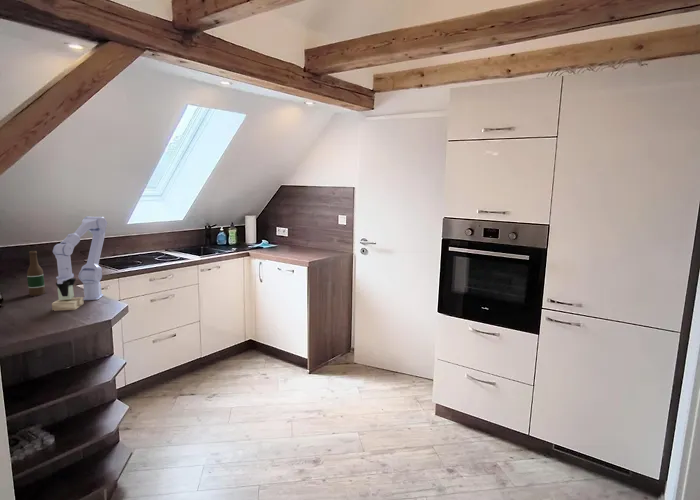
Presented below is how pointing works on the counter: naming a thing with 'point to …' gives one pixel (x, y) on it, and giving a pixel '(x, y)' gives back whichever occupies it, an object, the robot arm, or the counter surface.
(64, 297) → the sage block
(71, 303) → the birch base
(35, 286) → the beer bottle
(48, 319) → the counter surface
